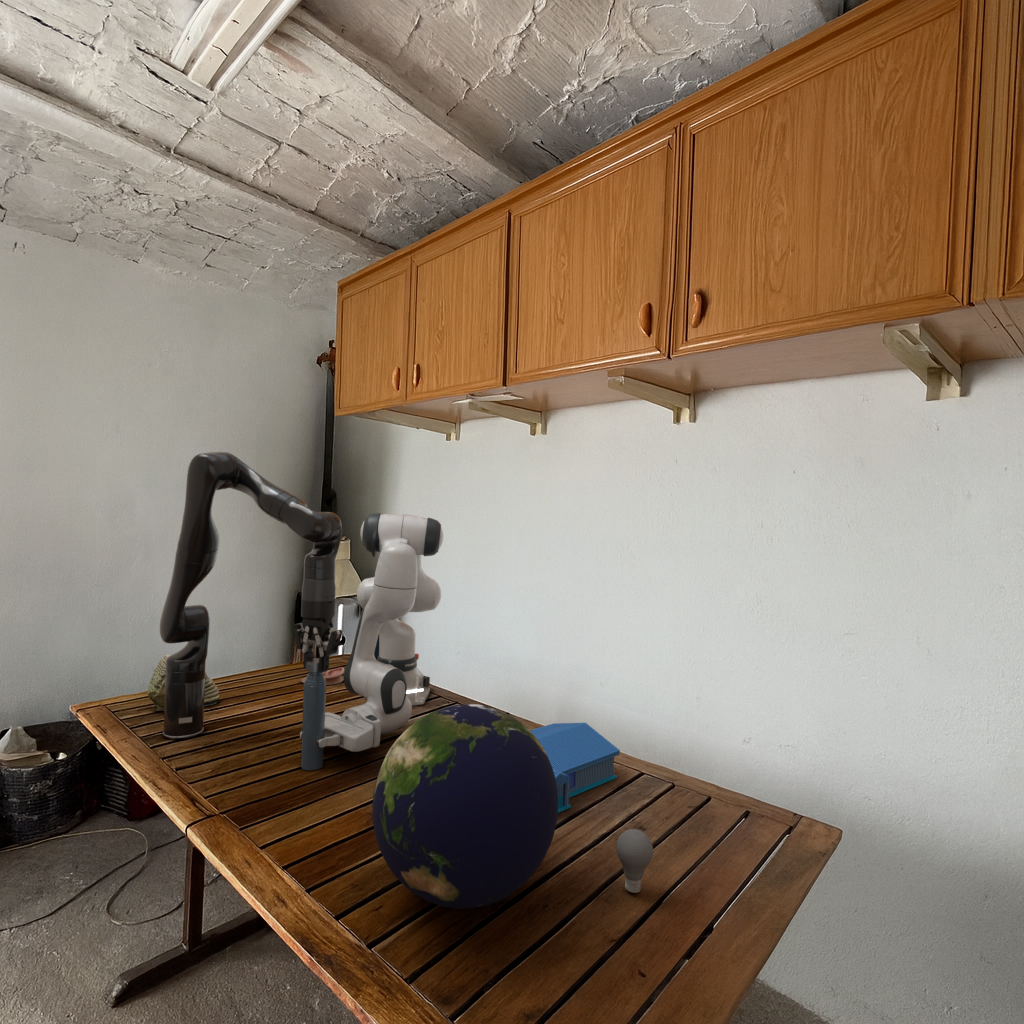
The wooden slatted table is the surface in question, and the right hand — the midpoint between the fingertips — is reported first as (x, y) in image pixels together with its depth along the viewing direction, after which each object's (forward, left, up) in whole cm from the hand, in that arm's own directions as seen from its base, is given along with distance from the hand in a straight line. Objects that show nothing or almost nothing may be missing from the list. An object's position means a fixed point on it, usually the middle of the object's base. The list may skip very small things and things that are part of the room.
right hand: (309, 739), depth 148 cm
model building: (-6, +52, -6) cm, 52 cm away
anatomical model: (-62, -31, -6) cm, 70 cm away
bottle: (-1, 0, -6) cm, 6 cm away
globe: (+35, +48, -6) cm, 60 cm away
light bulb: (+27, +75, -6) cm, 80 cm away
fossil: (-26, -55, -6) cm, 62 cm away
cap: (-1, 0, +18) cm, 18 cm away
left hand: (-1, 0, +16) cm, 16 cm away
